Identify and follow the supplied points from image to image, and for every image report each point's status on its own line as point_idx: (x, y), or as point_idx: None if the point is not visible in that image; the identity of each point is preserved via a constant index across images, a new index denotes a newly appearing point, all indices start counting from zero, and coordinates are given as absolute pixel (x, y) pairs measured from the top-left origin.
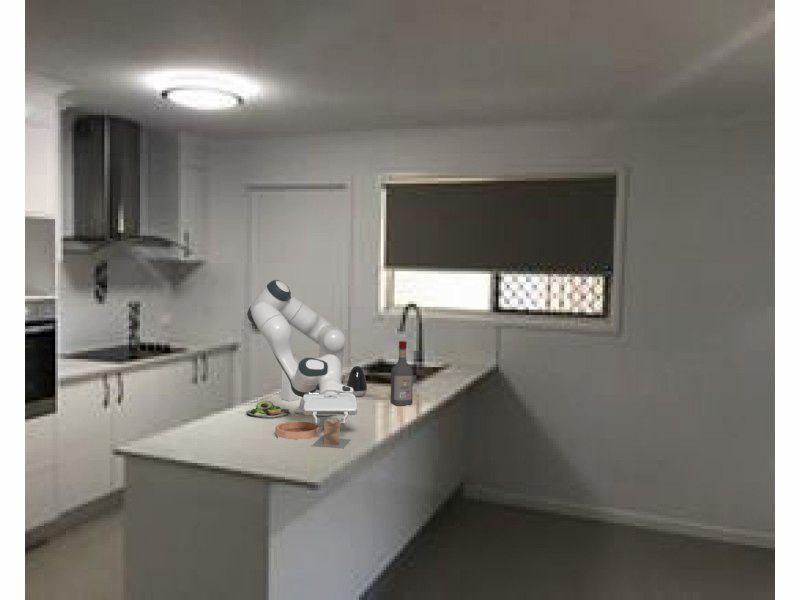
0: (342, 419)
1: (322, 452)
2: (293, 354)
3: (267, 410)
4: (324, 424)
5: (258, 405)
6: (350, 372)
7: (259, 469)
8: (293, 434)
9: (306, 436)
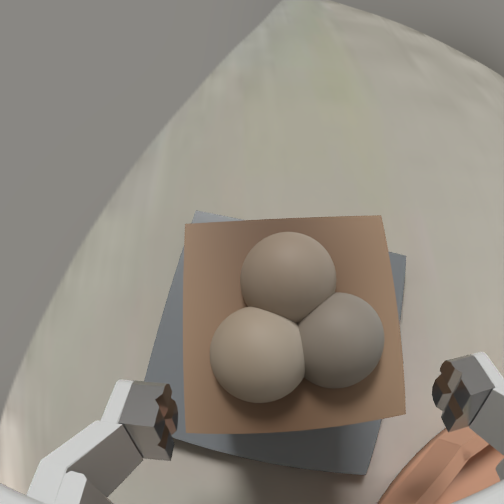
0: (138, 410)
1: (323, 196)
2: None
3: None
4: (377, 217)
5: None
6: None
7: (466, 63)
8: None
9: (459, 431)
